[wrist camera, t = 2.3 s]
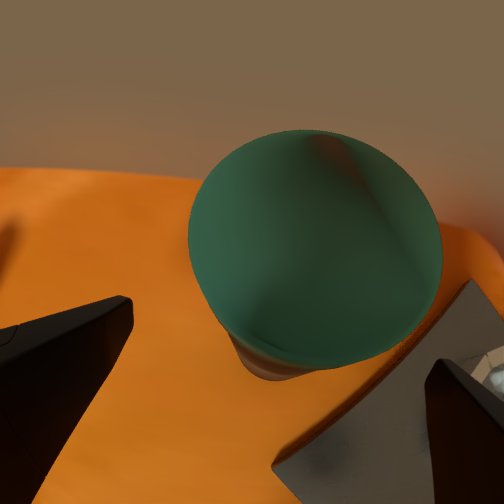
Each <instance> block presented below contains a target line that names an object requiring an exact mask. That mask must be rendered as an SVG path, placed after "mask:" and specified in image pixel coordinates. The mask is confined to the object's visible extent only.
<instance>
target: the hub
mask: <svg viewBox="0 0 504 504" xmlns="http://www.w3.org/2000/svg"><path fill="white" fill-rule="evenodd" d="M439 358H443V359H450V360H452V361H453V362H454V363H456V364H457V365H458V366H459V367H461V368H462V369H463V370H464V371H466V372H467V373H468V374H470V375H471V376H472V377H473V378H475V379H476V380H477V381H478V382H480V383H481V384H482V385H483V386H485V387H486V388H487V389H488V390H490V391H491V392H492V393H493V394H494V395H496V396H497V397H498V398H499V399H501V400H502V401H503V402H504V321H503V320H502V318H501V317H500V315H499V314H498V313H497V311H496V310H495V308H494V307H493V305H492V304H491V303H490V301H489V300H488V299H487V297H486V296H485V294H484V293H483V292H482V290H481V289H480V288H479V286H478V285H477V284H476V283H475V281H474V280H473V279H470V280H469V281H467V282H466V283H464V284H463V286H462V287H461V288H460V290H459V291H458V292H457V294H456V295H455V296H454V297H453V299H452V300H451V301H450V302H449V304H448V305H447V306H446V307H445V308H444V310H443V311H442V312H441V313H440V315H439V316H438V317H437V318H436V319H435V320H434V322H433V323H432V324H431V325H430V326H429V327H428V328H427V330H426V331H425V332H424V333H423V334H422V335H421V336H420V337H419V339H418V340H417V341H416V342H415V343H414V344H413V345H412V346H411V347H410V348H409V349H408V350H407V351H406V352H405V354H404V355H403V356H402V357H401V358H400V359H399V360H398V361H397V362H396V363H395V364H394V365H393V366H392V367H391V368H390V369H389V370H388V371H387V372H386V373H385V374H384V375H383V376H382V377H381V378H379V379H378V380H377V381H376V382H375V383H374V384H373V385H372V386H371V387H370V388H369V389H368V390H367V391H366V392H364V393H363V394H362V395H361V396H360V397H359V398H358V399H357V400H355V401H354V402H353V403H352V404H351V405H350V406H349V407H347V408H346V409H345V410H344V411H343V412H342V413H340V414H339V415H338V416H337V417H336V418H334V419H333V420H332V421H331V422H329V423H328V424H327V425H326V426H324V427H323V428H322V429H321V430H319V431H318V432H317V433H315V434H314V435H313V436H312V437H310V438H309V439H308V440H306V441H305V442H304V443H302V444H301V445H299V446H298V447H297V448H295V449H294V450H293V451H291V452H290V453H288V454H287V455H285V456H284V457H283V458H281V459H280V460H278V461H277V462H275V463H274V464H272V465H271V469H272V471H273V472H274V473H275V474H276V475H277V476H278V478H279V479H280V480H281V481H282V482H283V483H284V484H285V485H286V486H287V487H288V489H289V490H290V491H291V492H292V493H293V494H294V495H295V496H296V497H297V498H298V499H299V500H300V501H301V502H302V503H303V504H435V502H434V487H433V475H432V465H431V456H430V448H429V440H428V433H427V422H426V404H425V390H424V383H425V380H426V378H427V376H428V374H429V372H430V370H431V369H432V367H433V365H434V363H435V362H436V360H437V359H439Z"/></svg>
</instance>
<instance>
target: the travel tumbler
mask: <svg viewBox="0 0 504 504" xmlns="http://www.w3.org/2000/svg"><path fill="white" fill-rule="evenodd" d="M188 245H189V255H190V259H191V263H192V267H193V271H194V274H195V276H196V279H197V281H198V283H199V286H200V288H201V290H202V292H203V294H204V296H205V298H206V300H207V302H208V304H209V306H210V308H211V310H212V311H213V313H214V314H215V316H216V318H217V319H218V321H219V322H220V324H221V325H222V326H223V327H224V328H225V330H226V331H227V332H228V334H229V336H230V339H231V341H232V343H233V345H234V347H235V349H236V351H237V353H238V355H239V358H240V360H241V362H242V363H243V365H244V366H245V367H246V368H247V369H248V370H249V371H250V372H251V373H252V374H254V375H255V376H257V377H259V378H262V379H265V380H269V381H283V380H287V379H291V378H294V377H297V376H301V375H304V374H307V373H310V372H313V371H316V370H327V369H335V368H339V367H342V366H346V365H350V364H353V363H356V362H360V361H363V360H366V359H369V358H372V357H374V356H376V355H379V354H381V353H383V352H385V351H387V350H389V349H391V348H392V347H394V346H395V345H397V344H398V343H400V342H401V341H403V340H404V339H405V338H406V337H407V336H408V335H409V334H410V333H411V332H412V331H413V330H415V329H416V327H417V326H418V325H419V324H420V322H421V321H422V320H423V318H424V317H425V316H426V314H427V312H428V311H429V309H430V307H431V305H432V303H433V301H434V299H435V296H436V294H437V291H438V288H439V284H440V279H441V275H442V265H443V250H442V240H441V235H440V230H439V227H438V223H437V220H436V217H435V215H434V213H433V210H432V208H431V206H430V204H429V202H428V200H427V199H426V197H425V195H424V194H423V192H422V191H421V189H420V188H419V186H418V185H417V184H416V183H415V181H414V180H413V179H412V178H411V177H410V176H409V175H408V174H407V172H406V171H405V170H404V169H403V168H401V167H400V166H399V165H398V164H397V163H396V162H394V161H393V160H392V159H391V158H389V157H388V156H386V155H385V154H383V153H382V152H380V151H379V150H377V149H375V148H373V147H371V146H370V145H368V144H365V143H363V142H361V141H359V140H356V139H354V138H350V137H347V136H344V135H341V134H336V133H332V132H326V131H317V130H292V131H284V132H279V133H274V134H270V135H267V136H263V137H261V138H258V139H255V140H253V141H251V142H249V143H246V144H244V145H243V146H241V147H240V148H238V149H236V150H235V151H233V152H232V153H230V154H229V155H228V156H227V157H225V158H224V159H223V160H222V161H221V162H220V163H219V164H218V165H217V166H216V167H215V168H214V169H213V170H212V171H211V173H210V174H209V175H208V177H207V178H206V179H205V181H204V182H203V184H202V186H201V188H200V190H199V191H198V193H197V195H196V198H195V201H194V204H193V206H192V210H191V215H190V220H189V227H188Z"/></svg>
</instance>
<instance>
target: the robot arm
mask: <svg viewBox="0 0 504 504" xmlns="http://www.w3.org/2000/svg"><path fill="white" fill-rule="evenodd" d="M133 326H134V315H133V302H132V300H131V299H130V298H128V297H124V296H121V295H117V296H114V297H111V298H107V299H104V300H100V301H97V302H94V303H90V304H87V305H83V306H80V307H76V308H73V309H70V310H66V311H63V312H59V313H56V314H52V315H49V316H45V317H42V318H39V319H35V320H32V321H28V322H25V323H21V324H19V325H14V326H11V327H7V328H3V329H0V504H31V503H32V501H33V499H34V498H35V496H36V494H37V492H38V490H39V489H40V487H41V485H42V483H43V482H44V480H45V477H46V476H47V474H48V472H49V471H50V469H51V467H52V465H53V464H54V462H55V460H56V459H57V457H58V455H59V454H60V452H61V450H62V448H63V447H64V445H65V443H66V442H67V440H68V439H69V437H70V435H71V434H72V432H73V430H74V429H75V427H76V425H77V424H78V422H79V421H80V419H81V417H82V416H83V414H84V413H85V411H86V409H87V408H88V406H89V405H90V403H91V401H92V400H93V398H94V397H95V395H96V394H97V392H98V390H99V389H100V387H101V386H102V384H103V383H104V381H105V380H106V378H107V377H108V375H109V373H110V372H111V370H112V369H113V367H114V365H115V363H116V361H117V359H118V357H119V355H120V353H121V351H122V349H123V347H124V345H125V343H126V341H127V339H128V337H129V335H130V333H131V331H132V329H133ZM424 390H425V404H426V422H427V433H428V440H429V448H430V456H431V465H432V475H433V487H434V502H435V504H504V402H503V401H502V400H501V399H499V398H498V397H497V396H496V395H494V394H493V393H492V392H491V391H490V390H488V389H487V388H486V387H485V386H483V385H482V384H481V383H480V382H478V381H477V380H476V379H475V378H473V377H472V376H471V375H470V374H468V373H467V372H466V371H464V370H463V369H462V368H461V367H459V366H458V365H457V364H456V363H454V362H453V361H452V360H450V359H443V358H439V359H437V360H436V362H435V363H434V365H433V367H432V369H431V370H430V372H429V374H428V376H427V378H426V380H425V383H424Z"/></svg>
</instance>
